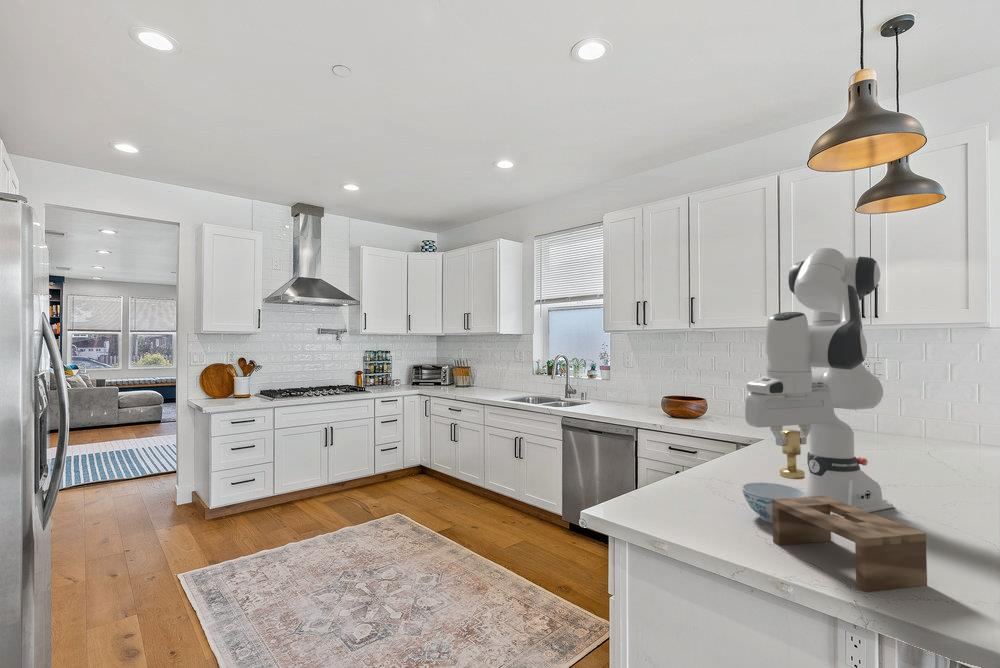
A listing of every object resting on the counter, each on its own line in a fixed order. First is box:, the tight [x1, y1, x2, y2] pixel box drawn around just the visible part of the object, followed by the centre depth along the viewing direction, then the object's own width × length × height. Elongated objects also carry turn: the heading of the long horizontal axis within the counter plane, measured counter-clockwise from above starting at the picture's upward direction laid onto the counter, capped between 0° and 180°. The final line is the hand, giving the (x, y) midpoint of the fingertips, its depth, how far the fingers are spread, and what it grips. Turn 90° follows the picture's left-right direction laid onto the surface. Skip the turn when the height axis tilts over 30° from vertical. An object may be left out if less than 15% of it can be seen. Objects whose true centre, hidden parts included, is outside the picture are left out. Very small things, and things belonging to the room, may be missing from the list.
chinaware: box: [741, 482, 806, 524], centre depth 130 cm, size 15×15×8 cm
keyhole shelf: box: [772, 496, 928, 593], centre depth 105 cm, size 24×14×10 cm, turn 10°
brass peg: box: [779, 429, 806, 480], centre depth 110 cm, size 5×5×10 cm
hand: (791, 444), depth 110 cm, fingers closed on brass peg, 4 cm apart
